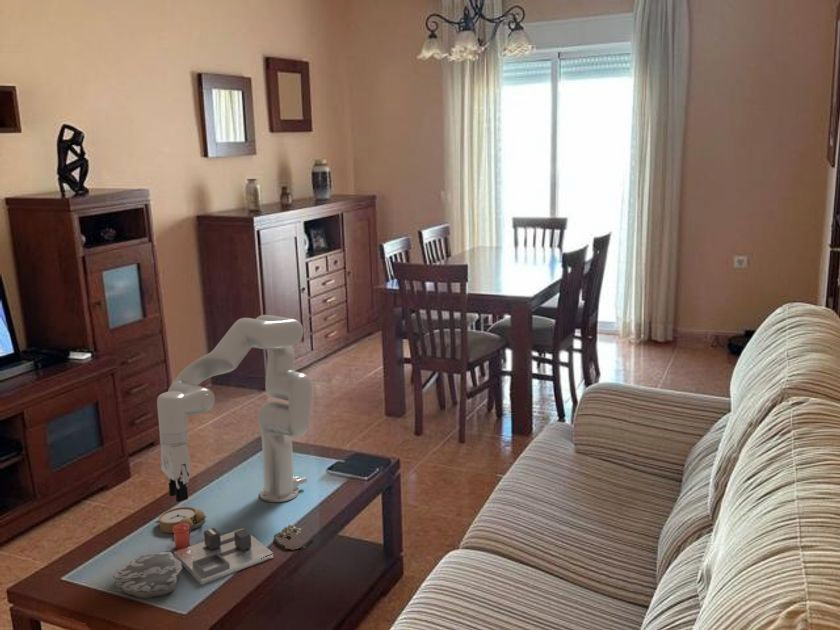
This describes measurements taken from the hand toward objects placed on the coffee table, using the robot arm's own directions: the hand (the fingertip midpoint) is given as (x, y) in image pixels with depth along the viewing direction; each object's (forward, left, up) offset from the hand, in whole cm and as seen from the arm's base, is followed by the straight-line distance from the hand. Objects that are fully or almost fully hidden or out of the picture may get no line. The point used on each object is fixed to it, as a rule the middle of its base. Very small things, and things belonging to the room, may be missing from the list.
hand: (178, 496), depth 212 cm
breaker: (-12, +14, -13) cm, 23 cm away
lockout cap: (0, 0, -15) cm, 15 cm away
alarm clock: (-5, -12, -16) cm, 20 cm away
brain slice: (+14, +12, -16) cm, 24 cm away
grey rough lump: (-26, +17, -16) cm, 35 cm away
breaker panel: (-7, +13, -15) cm, 21 cm away
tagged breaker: (-6, +8, -13) cm, 17 cm away
